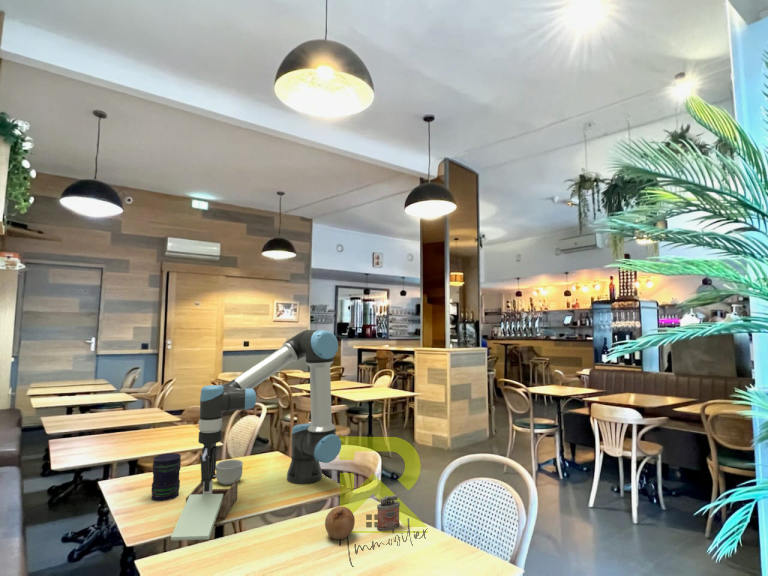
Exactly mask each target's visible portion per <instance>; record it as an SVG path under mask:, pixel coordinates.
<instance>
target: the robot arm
mask: <svg viewBox="0 0 768 576" xmlns="http://www.w3.org/2000/svg"><path fill="white" fill-rule="evenodd" d="M338 350H339V342H338V339H337V337H336V335H335V334H334V333H332V332H331V331H328V330H325V329H306V330H303V331H301V332H299V333H297V334H296V335H295V334H294V336H291V338H289V339H288V340H286V341H285V342H283V343H282V345H281V347H280V348H279V349H277V350H276V351H274V352H273V353H271V354H269V355H268V356H267V357H265V358H263V359H262V360H261V361H259V362H257V363H256V364H254V365H253V366H252V367H250V368H248V369H247V370H246V371H244V372H241V374H240V375H238V376H236V377H234V379H231V380H230V381H228V382H227V383H226V384H224V383H223V384H219V385H218V384H215V385H214V384H213V385H212V384H211V385H205V386H203V387H201V390H200V397H199V421H197V424H198V425H199V427H198V430H199V432H198V443H199V444H202V445H203V447H202V449H201V454H202V455H200V456H199V461H200V474H201V475H200V476H201V478H200V479H201V480H200V482H204V483H203V494H212V489H214V488H213V486H214V485H213V483H214V481H213V480H216V477H214V475H215V474H216V465H217V459H218V458H217V457H218V452H219V451H218V450H219V446H218V445H217V444H218V443H220V442H222V432H223V431H222V428H223V413H224V412H232V411H233V412H234V411H243V410H245V411H246V410H250V409H253V408H254V407H255V405H256V404H257V393H256V390H255V389H254V388H256V387H257V386H258V385H260V384H261V383H263V382H264V381H266V380H267V379H268V378H270V377H271V376H273V375H275V374H276V373H277V372H279V371H280V370H282V369H283V368H285V367H286V366H287V365H290V363H291V362H294V363H295V362H296V363H297V361H299V360H301V359H302V358H305V364H306V365H307V366H308V367H309V388H310V389H309V390H310V393H309V394H310V396H309V397H310V421H311V422H308V423H300V424H295V425H294V426H292V430H291V460H290V463H289V467H288V471H287V473H286V480H287V482H289V483H293V484H299V485H302V484H304V485H305V484H312V483H316V482H319V481H320V480H321V479H322V477H323V471H322V468H321V464H320V463H322V464H327V463H331V462H333V461H334V460H336V458H337V457H338V456H339V454H340V452H341V449H342V440H341V438H340V437H339V436H338V435H337V434H336V433H337V432H336V425H335V424H334V423H333V422H332V421H333V420H332V419H333V417H332V387H331V385H332V384H331V365H332V364H333V363H334V357H335V356H336V354H337V353H338Z"/></svg>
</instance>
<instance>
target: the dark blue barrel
mask: <svg viewBox="0 0 768 576" xmlns="http://www.w3.org/2000/svg"><path fill="white" fill-rule="evenodd" d="M181 456H182V455H181V454H179V453H172V452H171V453H163V454H159V455H156V456H154V457H153V462H152V471H151V472H152V474H153V475H152V483H151V500H152V501H154V502H167V501H171V500H174V499H176V498H178V497H179V495H180V492H179V491H180V488H181V485H180V483H181V480H180V471H181V466H182V465H181V464H182V461H181Z"/></svg>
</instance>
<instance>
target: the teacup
mask: <svg viewBox="0 0 768 576" xmlns="http://www.w3.org/2000/svg"><path fill="white" fill-rule="evenodd" d="M243 465H244V462H243V461H242V460H240V459H225V460H222V461H219V462H218V463H216V469H215V475H214V477H216V478H215V480H216V481H217V482H218V483H220V485H223V486H232V485H233V483H234V482H235V480H236V479H238V481H240V479H241V478H242V475H243Z"/></svg>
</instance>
